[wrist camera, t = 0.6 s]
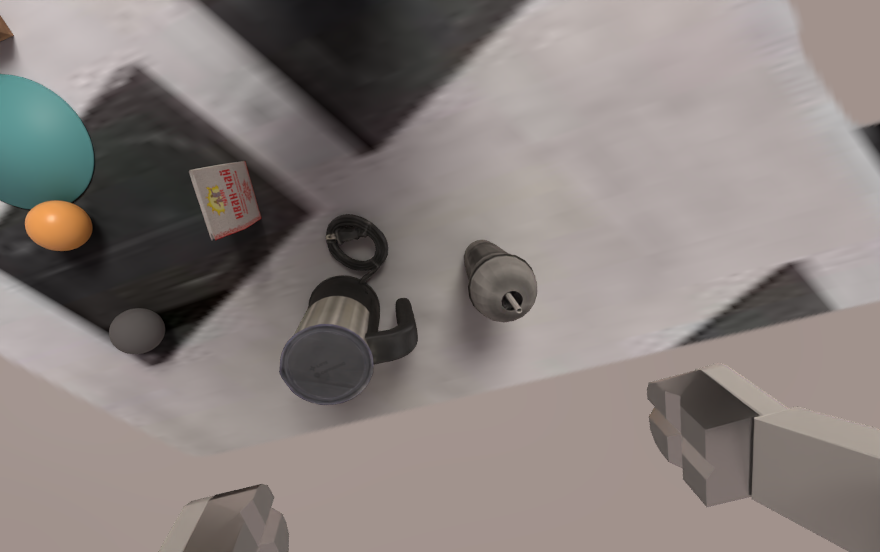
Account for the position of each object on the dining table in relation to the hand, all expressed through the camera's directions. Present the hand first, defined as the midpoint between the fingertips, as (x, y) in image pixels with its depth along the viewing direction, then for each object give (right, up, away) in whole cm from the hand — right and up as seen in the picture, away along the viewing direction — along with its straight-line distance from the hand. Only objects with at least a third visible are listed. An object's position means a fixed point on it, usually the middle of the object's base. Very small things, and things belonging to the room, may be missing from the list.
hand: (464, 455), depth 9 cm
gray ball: (-37, -3, +42) cm, 56 cm away
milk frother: (-12, +3, +46) cm, 48 cm away
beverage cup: (+5, +6, +47) cm, 47 cm away
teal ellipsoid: (-46, +18, +37) cm, 62 cm away
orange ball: (-42, +9, +37) cm, 57 cm away
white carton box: (-24, +14, +41) cm, 50 cm away
